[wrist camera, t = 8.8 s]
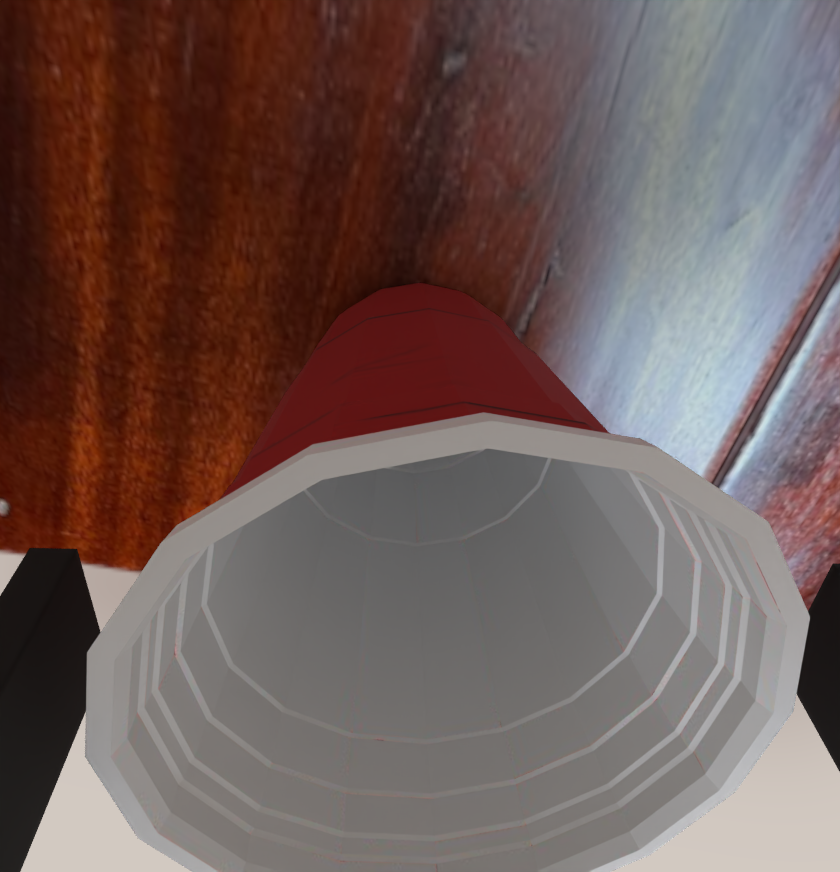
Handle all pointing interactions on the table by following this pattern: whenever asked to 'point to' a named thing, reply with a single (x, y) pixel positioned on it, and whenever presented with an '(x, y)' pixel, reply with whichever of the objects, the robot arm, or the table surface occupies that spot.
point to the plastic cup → (442, 626)
